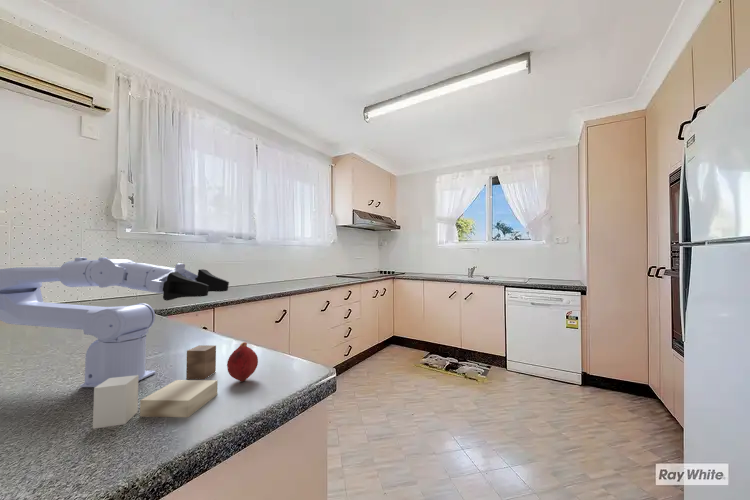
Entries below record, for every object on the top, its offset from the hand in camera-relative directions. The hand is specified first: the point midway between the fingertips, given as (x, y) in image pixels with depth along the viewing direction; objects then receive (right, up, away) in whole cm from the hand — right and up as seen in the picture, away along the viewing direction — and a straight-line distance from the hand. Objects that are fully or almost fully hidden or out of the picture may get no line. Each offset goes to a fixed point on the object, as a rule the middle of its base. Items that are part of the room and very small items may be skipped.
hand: (218, 288), depth 62 cm
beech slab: (0, -19, -11) cm, 22 cm away
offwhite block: (-7, -19, -16) cm, 26 cm away
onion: (+6, -19, -2) cm, 20 cm away
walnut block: (-5, -19, +2) cm, 20 cm away
